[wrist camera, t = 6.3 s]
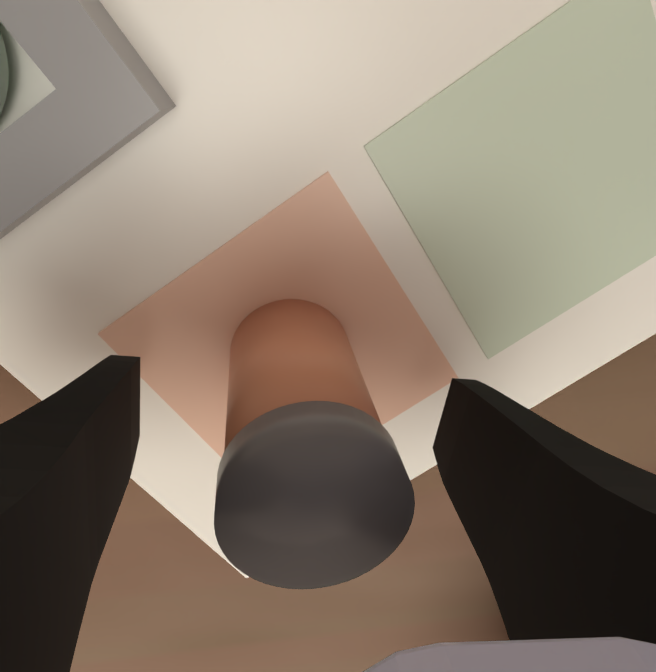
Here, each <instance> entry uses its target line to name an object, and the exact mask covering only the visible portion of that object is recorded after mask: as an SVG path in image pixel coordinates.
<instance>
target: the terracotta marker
mask: <svg viewBox="0 0 656 672" xmlns="http://www.w3.org/2000/svg"><path fill="white" fill-rule="evenodd" d="M414 506H415V500H414V492H413V488H412V484H411V482H410V479H409V477H408V474H407V472H406V469H405V467H404V464H403V462H402V460H401V457H400V455H399V452H398V450H397V447H396V445H395V443H394V441H393V439H392V437H391V436H390V434H389V433H388V431H387V430H386V429H385V428H384V427H383V425H382V424H381V422H380V419H379V416H378V414H377V411H376V409H375V406H374V404H373V401H372V399H371V396H370V394H369V391H368V388H367V386H366V383H365V381H364V378H363V376H362V373H361V371H360V368H359V366H358V363H357V361H356V358H355V355H354V353H353V350H352V348H351V345H350V343H349V340H348V338H347V335H346V333H345V331H344V328H343V326H342V325H341V323H340V322H339V320H338V319H337V318H336V317H335V316H334V315H333V314H332V313H331V312H330V311H328V310H327V309H325V308H324V307H322V306H320V305H318V304H316V303H313V302H310V301H305V300H300V299H283V300H278V301H274V302H271V303H268V304H265V305H263V306H261V307H259V308H258V309H256V310H254V311H253V312H252V313H250V314H249V315H248V316H247V317H246V318H245V319H244V320H243V321H242V322H241V324H240V325H239V327H238V328H237V330H236V332H235V334H234V336H233V339H232V343H231V348H230V364H229V381H228V398H227V414H226V431H225V448H224V453H223V456H222V458H221V461H220V463H219V468H218V472H217V484H216V497H215V511H214V530H215V536H216V539H217V542H218V545H219V546H220V548H221V550H222V552H223V554H224V555H225V556H226V558H227V559H228V560H229V561H230V562H231V563H232V564H233V565H234V566H235V567H236V568H237V569H238V570H240V571H241V572H243V573H244V574H246V575H247V576H249V577H251V578H253V579H255V580H257V581H260V582H262V583H265V584H269V585H272V586H276V587H282V588H289V589H314V588H322V587H328V586H332V585H337V584H340V583H343V582H346V581H349V580H351V579H354V578H356V577H359V576H361V575H362V574H364V573H366V572H368V571H370V570H371V569H373V568H374V567H376V566H377V565H379V564H380V563H381V562H383V561H384V560H385V559H386V558H388V557H389V556H390V555H391V554H392V553H393V552H394V551H395V549H396V548H397V547H398V546H399V544H400V543H401V542H402V540H403V539H404V537H405V535H406V534H407V532H408V530H409V527H410V525H411V522H412V518H413V514H414Z"/></svg>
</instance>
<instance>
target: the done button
mask: <svg viewBox="0 0 656 672" xmlns="http://www.w3.org/2000/svg"><path fill="white" fill-rule="evenodd" d="M8 82H9V69H8V59H7V54H6V49H5V45H4V41H3V38H2V35H1V33H0V114H1V112H2V110H3V107H4V104H5V101H6V97H7V91H8Z"/></svg>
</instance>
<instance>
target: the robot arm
mask: <svg viewBox="0 0 656 672" xmlns="http://www.w3.org/2000/svg"><path fill="white" fill-rule="evenodd" d="M139 437H140V357H135V356H121V355H110V356H108V357H106V358H105V359H103V360H102V361H101V362H99V363H98V364H96V365H95V366H93V367H92V368H91V369H89V370H88V371H86V372H85V373H84V374H82V375H81V376H79V377H78V378H76V379H75V380H73V381H72V382H70V383H69V384H67V385H66V386H64V387H63V388H62V389H60V390H59V391H57V392H56V393H54V394H52V395H51V396H49V397H47V398H46V399H44V400H42V401H41V402H39V403H37V404H36V405H34V406H32V407H31V408H29V409H27V410H26V411H24V412H22V413H21V414H19V415H17V416H15V417H13V418H12V419H10V420H8V421H6V422H4V423H2V424H0V672H70V668H71V663H72V659H73V655H74V651H75V647H76V643H77V639H78V635H79V631H80V627H81V623H82V619H83V615H84V611H85V607H86V603H87V600H88V596H89V592H90V588H91V584H92V581H93V578H94V575H95V572H96V569H97V566H98V563H99V560H100V557H101V555H102V552H103V549H104V547H105V544H106V541H107V539H108V536H109V533H110V531H111V528H112V525H113V522H114V520H115V517H116V514H117V512H118V509H119V506H120V504H121V501H122V498H123V496H124V493H125V490H126V487H127V485H128V482H129V479H130V476H131V473H132V469H133V464H134V460H135V456H136V451H137V446H138V442H139ZM432 448H433V451H434V455H435V459H436V462H437V466H438V469H439V472H440V475H441V478H442V481H443V484H444V486H445V488H446V490H447V493H448V495H449V497H450V499H451V501H452V503H453V505H454V507H455V510H456V512H457V514H458V516H459V518H460V520H461V522H462V524H463V526H464V528H465V530H466V532H467V534H468V536H469V538H470V541H471V543H472V545H473V547H474V549H475V551H476V553H477V555H478V557H479V559H480V561H481V563H482V566H483V568H484V570H485V573H486V575H487V577H488V579H489V582H490V585H491V587H492V590H493V593H494V596H495V599H496V601H497V604H498V607H499V610H500V613H501V615H502V618H503V621H504V624H505V627H506V630H507V633H508V636H509V639H510V640H508V641H478V642H448V643H435V644H431V645H426V646H421V647H416V648H412V649H407V650H402V651H397V652H395V653H393V654H391V655H390V656H388V657H386V658H385V659H383V660H381V661H380V662H378V663H376V664H375V665H373V666H371V667H370V668H368V669H366V670H365V671H363V672H656V475H655V474H652V473H650V472H648V471H645V470H643V469H641V468H638V467H636V466H634V465H632V464H629V463H627V462H625V461H623V460H621V459H619V458H617V457H614V456H612V455H610V454H608V453H606V452H604V451H602V450H600V449H598V448H596V447H594V446H592V445H590V444H588V443H586V442H584V441H583V440H581V439H579V438H577V437H575V436H574V435H572V434H570V433H568V432H566V431H564V430H563V429H561V428H559V427H557V426H556V425H554V424H552V423H551V422H549V421H547V420H546V419H544V418H542V417H540V416H539V415H537V414H536V413H534V412H532V411H531V410H529V409H527V408H526V407H524V406H522V405H521V404H519V403H517V402H516V401H514V400H512V399H511V398H509V397H507V396H506V395H504V394H502V393H501V392H499V391H497V390H495V389H494V388H492V387H490V386H488V385H486V384H484V383H482V382H480V381H477V380H473V379H458V378H452V380H451V384H450V387H449V391H448V394H447V398H446V401H445V405H444V408H443V412H442V415H441V419H440V422H439V426H438V430H437V433H436V437H435V440H434V444H433V447H432Z"/></svg>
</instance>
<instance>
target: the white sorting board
mask: <svg viewBox="0 0 656 672" xmlns="http://www.w3.org/2000/svg"><path fill="white" fill-rule="evenodd" d="M0 33H1V35H2V38H3V41H4V45H5V49H6V54H7V59H8V69H9V82H8V91H7V97H6V101H5V104H4V107H3V110H2V112H1V114H0V365H1V366H3V367H4V368H5V369H6V370H7V371H8V372H10V373H11V374H12V375H13V376H14V377H15V378H16V379H18V380H19V381H20V382H21V383H22V384H23V385H24V386H26V387H27V388H28V389H29V390H30V391H31V392H33V393H34V394H35V395H36V396H37V397H38V398H39V399H41V400H44V399H46V398H47V397H49V396H51V395H52V394H54V393H56V392H57V391H59V390H60V389H62V388H63V387H64V386H66V385H67V384H69V383H70V382H72V381H73V380H75V379H76V378H78V377H79V376H81V375H82V374H84V373H85V372H86V371H88V370H89V369H91V368H92V367H93V366H95V365H96V364H98V363H99V362H101V361H102V360H103V359H105V358H106V357H108V356H110V355H121V356H135V357H140V437H139V442H138V446H137V451H136V456H135V460H134V464H133V469H132V473H131V476H130V478H132V479H133V480H134V481H135V482H136V483H137V484H138V485H140V486H141V487H142V488H143V489H144V490H145V491H146V492H148V493H149V494H150V495H151V496H152V497H153V498H155V499H156V500H157V501H158V502H159V503H160V504H161V505H163V506H164V507H165V508H166V509H167V510H168V511H169V512H171V513H172V514H173V515H174V516H175V517H176V518H178V519H179V520H180V521H181V522H182V523H183V524H184V525H186V526H187V527H188V528H189V529H190V530H191V531H193V532H194V533H195V534H196V535H197V536H198V537H199V538H201V539H202V540H203V541H204V542H205V543H206V544H207V545H209V546H210V547H211V548H212V549H213V550H214V551H216V552H217V553H218V554H219V555H220V556H221V557H222V558H224V559H225V560H226V561H227V562H228V563H229V564H230V565H232V566H233V567H234V568H235V569H236V570H237V571H239V572H240V573H241V574H242V575H243V576H244V577H245V578H248V577H249V576H247V575H246V574H244V573H243V572H241V571H240V570H238V569H237V568H236V567H235V566H234V565H233V564H232V563H231V562H230V561H229V560H228V559H227V558H226V556H225V555H224V554H223V552H222V550H221V548H220V546H219V545H218V542H217V539H216V536H215V530H214V511H215V497H216V484H217V472H218V468H219V463H220V461H221V458H222V456H223V453H224V448H225V431H226V414H227V398H228V381H229V364H230V348H231V343H232V339H233V336H234V334H235V332H236V330H237V328H238V327H239V325H240V324H241V322H242V321H243V320H244V319H245V318H246V317H247V316H248V315H249V314H250V313H252V312H253V311H254V310H256V309H258V308H259V307H261V306H263V305H265V304H268V303H271V302H274V301H278V300H283V299H300V300H305V301H310V302H313V303H316V304H318V305H320V306H322V307H324V308H325V309H327V310H328V311H330V312H331V313H332V314H333V315H334V316H335V317H336V318H337V319H338V320H339V322H340V323H341V325H342V326H343V328H344V331H345V333H346V335H347V338H348V340H349V343H350V345H351V348H352V350H353V353H354V355H355V358H356V361H357V363H358V366H359V368H360V371H361V373H362V376H363V378H364V381H365V383H366V386H367V388H368V391H369V394H370V396H371V399H372V401H373V404H374V406H375V409H376V411H377V414H378V416H379V419H380V422H381V424H382V425H383V427H384V428H385V429H386V430H387V431H388V433H389V434H390V436H391V437H392V439H393V441H394V443H395V445H396V447H397V450H398V452H399V455H400V457H401V460H402V462H403V464H404V467H405V469H406V472H407V474H408V477H409V479H410V480H412V479H413V478H415V477H417V476H418V475H420V474H422V473H423V472H425V471H427V470H428V469H430V468H432V467H433V466H435V465H437V462H436V459H435V455H434V451H433V448H432V447H433V444H434V440H435V437H436V433H437V430H438V426H439V422H440V419H441V415H442V412H443V408H444V405H445V401H446V398H447V394H448V391H449V387H450V384H451V380H452V378H458V379H473V380H477V381H480V382H482V383H484V384H486V385H488V386H490V387H492V388H494V389H495V390H497V391H499V392H501V393H502V394H504V395H506V396H507V397H509V398H511V399H512V400H514V401H516V402H517V403H519V404H521V405H522V406H524V407H526V408H527V409H530V408H532V407H534V406H535V405H537V404H539V403H540V402H542V401H544V400H545V399H547V398H549V397H550V396H552V395H554V394H555V393H557V392H559V391H560V390H562V389H564V388H565V387H567V386H569V385H570V384H572V383H574V382H575V381H577V380H579V379H580V378H582V377H584V376H585V375H587V374H589V373H590V372H592V371H594V370H595V369H597V368H599V367H600V366H602V365H604V364H605V363H607V362H609V361H610V360H612V359H614V358H615V357H617V356H619V355H620V354H622V353H624V352H626V351H627V350H629V349H631V348H632V347H634V346H636V345H637V344H639V343H641V342H642V341H644V340H646V339H647V338H649V337H651V336H652V335H654V334H656V0H0Z"/></svg>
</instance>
